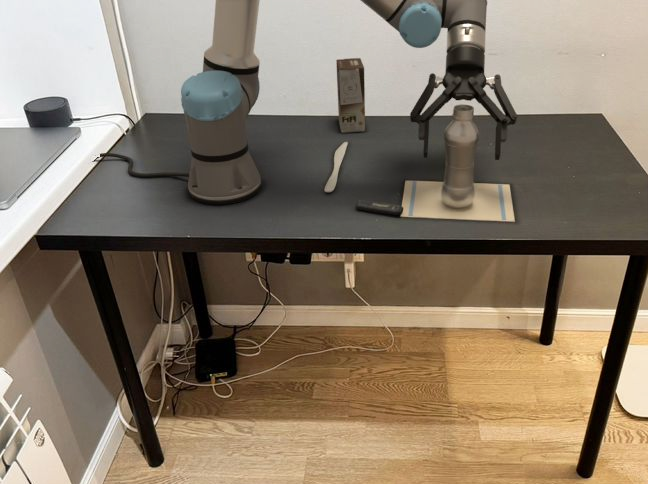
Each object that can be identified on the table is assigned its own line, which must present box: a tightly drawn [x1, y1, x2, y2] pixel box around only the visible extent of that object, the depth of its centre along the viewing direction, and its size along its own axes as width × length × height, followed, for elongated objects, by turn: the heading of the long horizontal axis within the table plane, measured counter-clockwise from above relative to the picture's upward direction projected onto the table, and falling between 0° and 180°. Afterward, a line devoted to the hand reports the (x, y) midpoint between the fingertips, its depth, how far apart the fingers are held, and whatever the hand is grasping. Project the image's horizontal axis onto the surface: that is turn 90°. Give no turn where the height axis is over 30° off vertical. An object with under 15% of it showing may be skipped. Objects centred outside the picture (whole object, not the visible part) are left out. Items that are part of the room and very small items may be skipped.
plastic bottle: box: [441, 104, 480, 208], centre depth 125 cm, size 6×7×20 cm
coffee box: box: [335, 57, 366, 134], centre depth 163 cm, size 9×6×16 cm
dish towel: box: [399, 180, 516, 223], centre depth 132 cm, size 22×16×1 cm
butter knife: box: [323, 141, 349, 193], centre depth 146 cm, size 1×27×3 cm
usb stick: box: [355, 199, 403, 216], centre depth 128 cm, size 10×3×2 cm, turn 69°
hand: (461, 156), depth 123 cm, fingers open, 13 cm apart
